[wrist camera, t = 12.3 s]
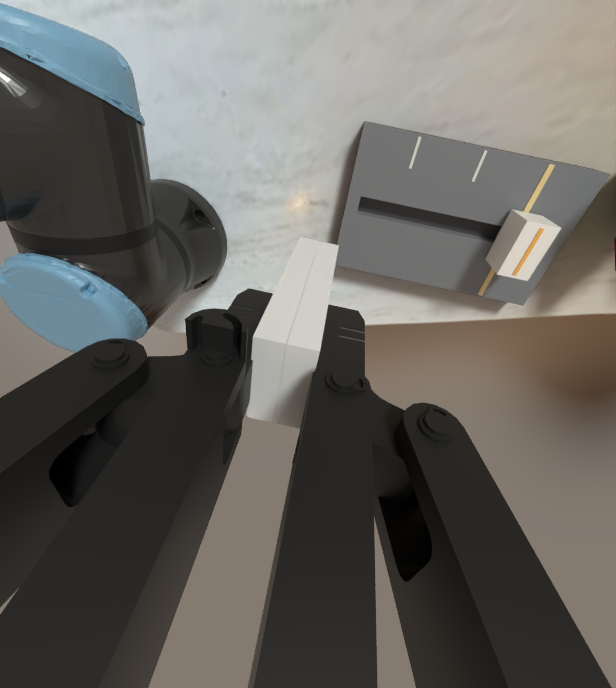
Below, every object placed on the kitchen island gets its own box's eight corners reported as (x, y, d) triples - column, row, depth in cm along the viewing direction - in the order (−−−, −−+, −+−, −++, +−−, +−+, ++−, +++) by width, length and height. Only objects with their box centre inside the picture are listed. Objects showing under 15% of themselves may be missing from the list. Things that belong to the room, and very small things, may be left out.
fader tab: (481, 254, 41) (497, 274, 36) (506, 205, 38) (527, 221, 33) (508, 260, 41) (527, 281, 36) (536, 211, 38) (562, 228, 33)
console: (334, 256, 46) (332, 264, 44) (364, 121, 36) (364, 122, 34) (514, 294, 46) (523, 305, 43) (594, 169, 36) (611, 174, 33)
